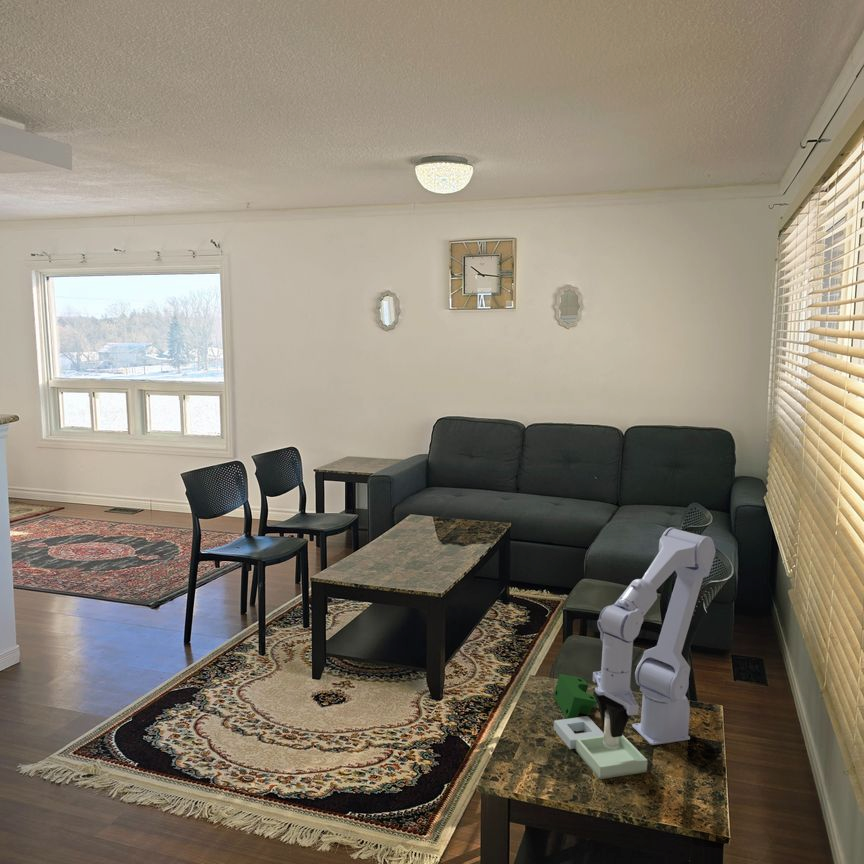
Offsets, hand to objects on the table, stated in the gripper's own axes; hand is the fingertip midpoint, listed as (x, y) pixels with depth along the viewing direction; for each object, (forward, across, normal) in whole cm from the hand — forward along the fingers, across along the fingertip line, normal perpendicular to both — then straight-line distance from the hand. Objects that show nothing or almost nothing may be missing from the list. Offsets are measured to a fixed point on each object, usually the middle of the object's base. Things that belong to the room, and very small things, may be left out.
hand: (612, 731), depth 154 cm
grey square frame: (+6, -10, -2) cm, 12 cm away
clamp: (+7, -21, +3) cm, 22 cm away
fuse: (+3, 0, 0) cm, 3 cm away
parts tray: (+6, 0, 0) cm, 6 cm away
